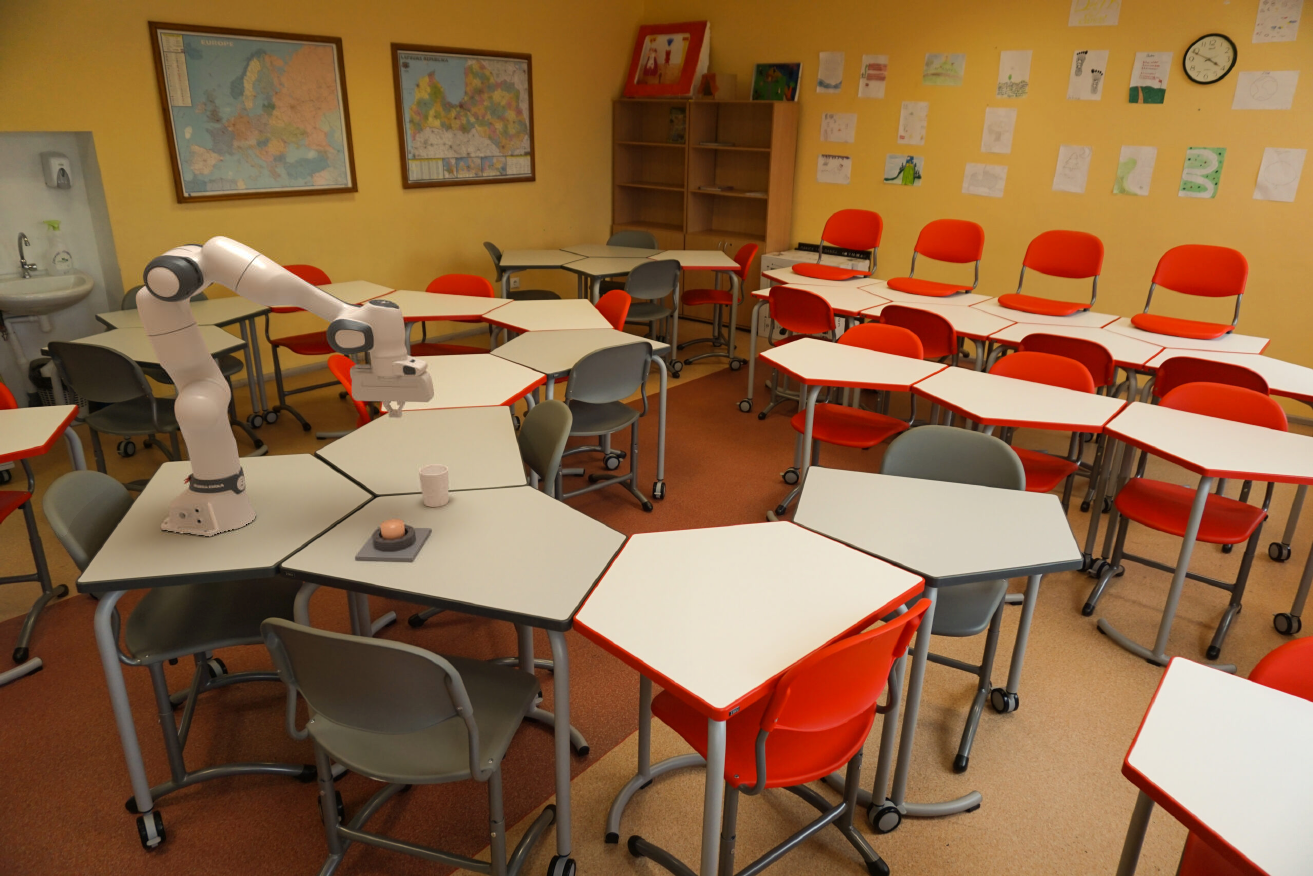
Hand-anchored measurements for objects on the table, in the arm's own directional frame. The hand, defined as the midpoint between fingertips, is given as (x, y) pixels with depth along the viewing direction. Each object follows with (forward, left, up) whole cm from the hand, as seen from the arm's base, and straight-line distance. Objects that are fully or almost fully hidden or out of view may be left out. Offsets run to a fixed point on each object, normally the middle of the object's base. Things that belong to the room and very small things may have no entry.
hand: (395, 416), depth 208 cm
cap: (+2, -15, -28) cm, 32 cm away
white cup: (+5, +11, -29) cm, 32 cm away
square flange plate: (+2, -15, -29) cm, 33 cm away
